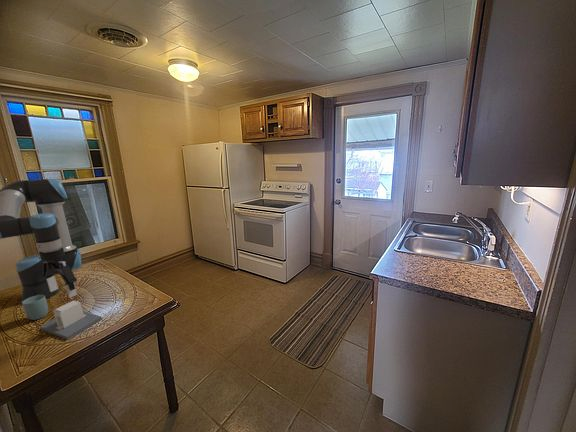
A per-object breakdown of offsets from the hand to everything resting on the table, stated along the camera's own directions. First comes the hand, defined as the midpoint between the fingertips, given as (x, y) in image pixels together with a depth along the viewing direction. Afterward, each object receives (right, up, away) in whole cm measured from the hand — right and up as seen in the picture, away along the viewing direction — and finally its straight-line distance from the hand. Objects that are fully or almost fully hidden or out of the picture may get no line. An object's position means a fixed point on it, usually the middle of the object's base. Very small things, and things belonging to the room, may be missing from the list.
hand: (63, 293), depth 109 cm
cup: (-21, -15, +9) cm, 27 cm away
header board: (+1, -16, +4) cm, 16 cm away
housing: (+1, -14, +3) cm, 15 cm away
